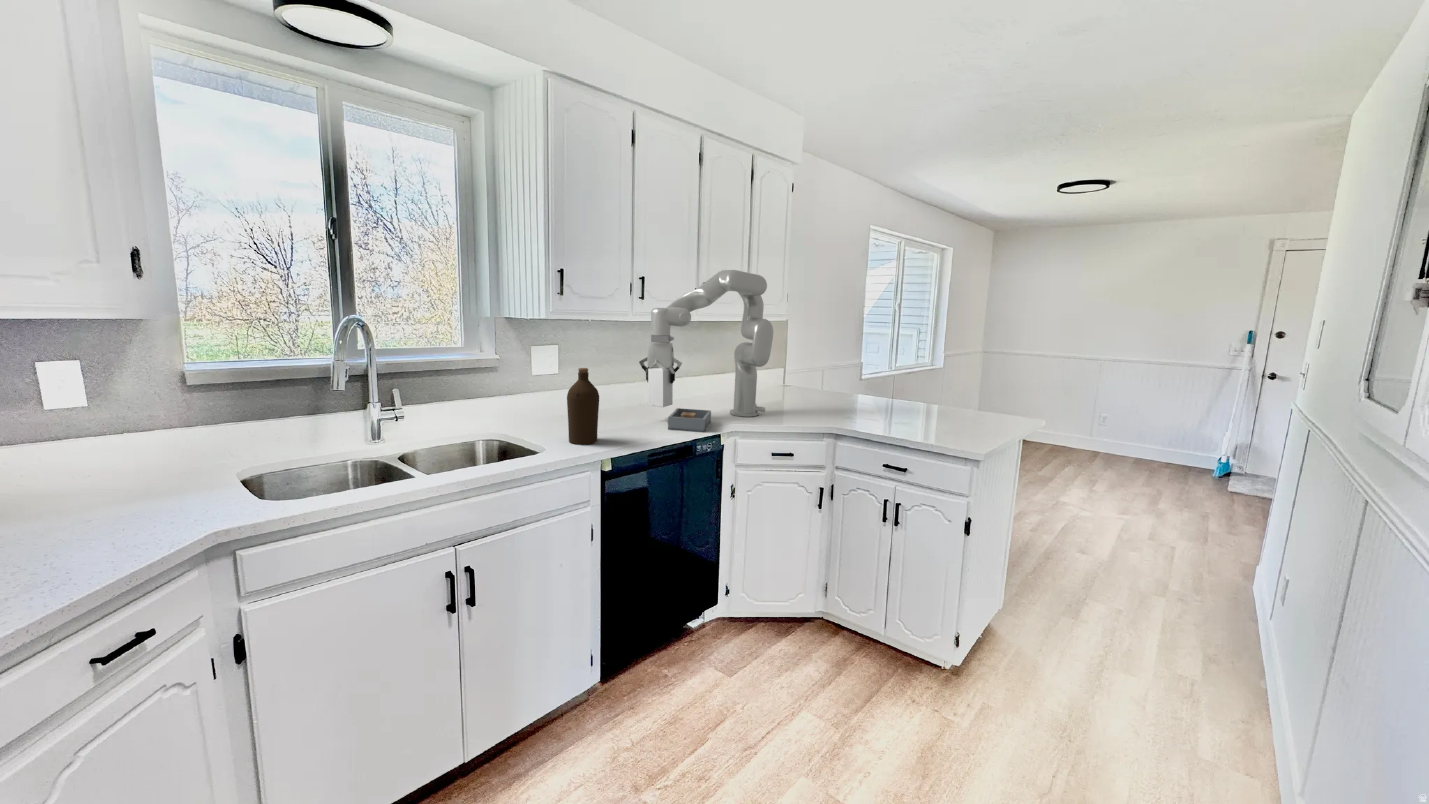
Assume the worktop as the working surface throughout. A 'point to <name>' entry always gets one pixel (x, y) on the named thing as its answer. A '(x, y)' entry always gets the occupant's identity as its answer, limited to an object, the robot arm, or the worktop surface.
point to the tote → (689, 420)
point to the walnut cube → (688, 415)
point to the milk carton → (659, 386)
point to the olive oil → (583, 410)
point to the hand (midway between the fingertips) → (660, 382)
